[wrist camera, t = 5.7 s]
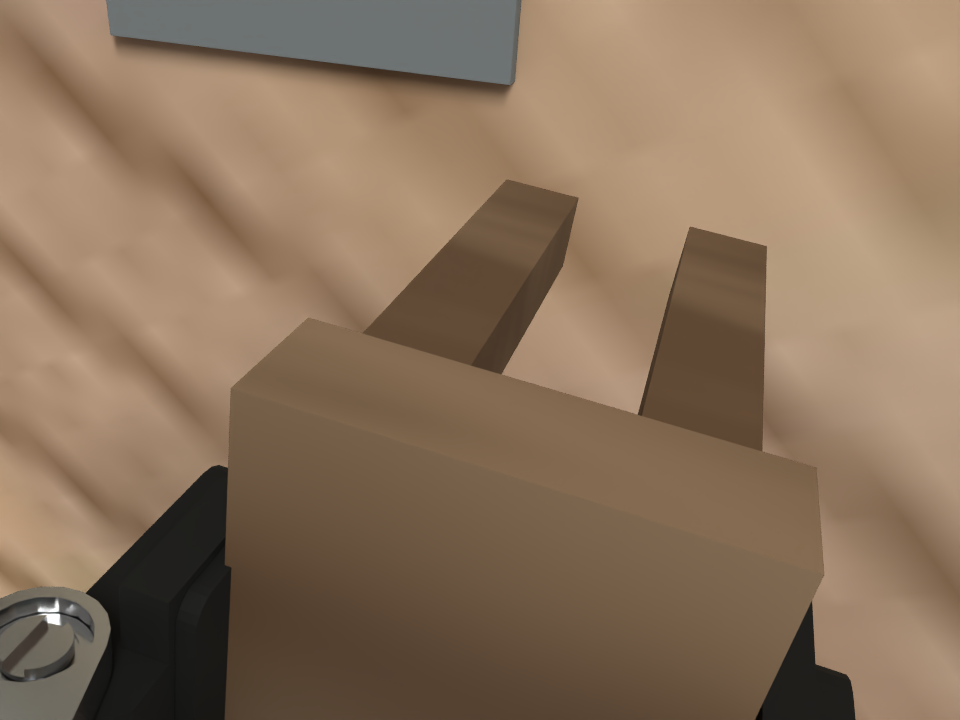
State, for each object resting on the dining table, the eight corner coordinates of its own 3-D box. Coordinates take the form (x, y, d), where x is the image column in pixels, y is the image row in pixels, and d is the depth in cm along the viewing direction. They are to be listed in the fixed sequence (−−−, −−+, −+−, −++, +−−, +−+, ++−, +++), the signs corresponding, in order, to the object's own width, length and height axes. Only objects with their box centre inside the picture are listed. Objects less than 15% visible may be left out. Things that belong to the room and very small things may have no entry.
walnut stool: (674, 575, 17) (607, 1027, 10) (427, 495, 18) (213, 865, 11) (799, 234, 14) (823, 574, 7) (486, 155, 15) (230, 388, 8)
